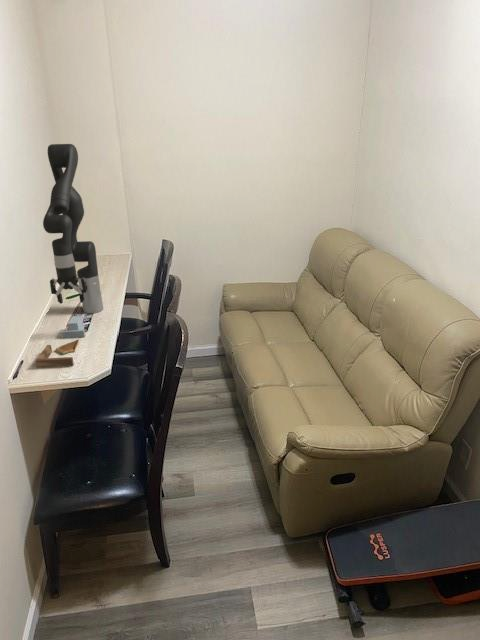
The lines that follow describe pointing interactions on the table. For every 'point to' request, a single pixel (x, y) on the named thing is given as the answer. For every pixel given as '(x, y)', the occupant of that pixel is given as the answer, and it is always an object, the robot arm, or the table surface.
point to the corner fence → (52, 359)
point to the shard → (68, 347)
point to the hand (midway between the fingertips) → (71, 302)
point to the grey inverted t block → (74, 328)
